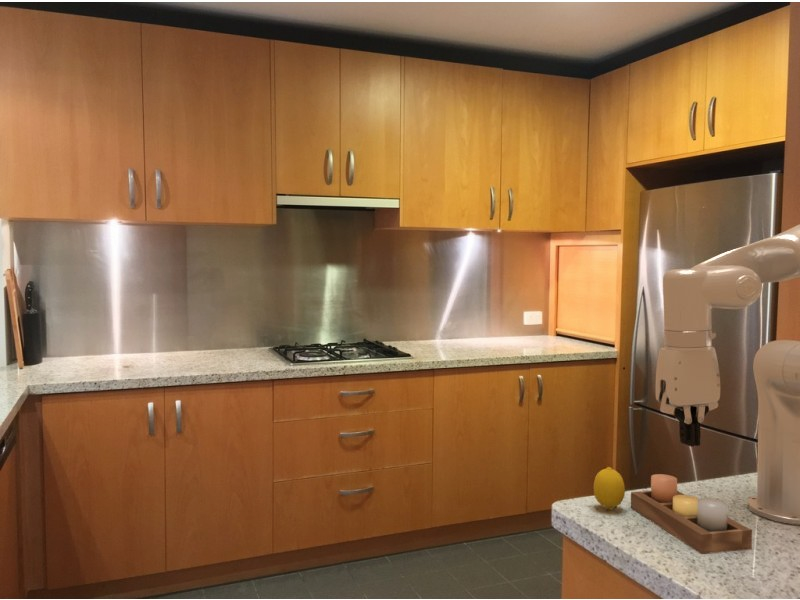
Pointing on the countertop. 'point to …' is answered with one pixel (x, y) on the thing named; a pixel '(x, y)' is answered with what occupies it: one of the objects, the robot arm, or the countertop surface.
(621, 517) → the countertop surface
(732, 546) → the wooden compartment tray
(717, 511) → the grey short rounded cylinder
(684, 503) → the yellow short cylinder
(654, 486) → the pink cylinder
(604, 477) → the lemon
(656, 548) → the countertop surface
